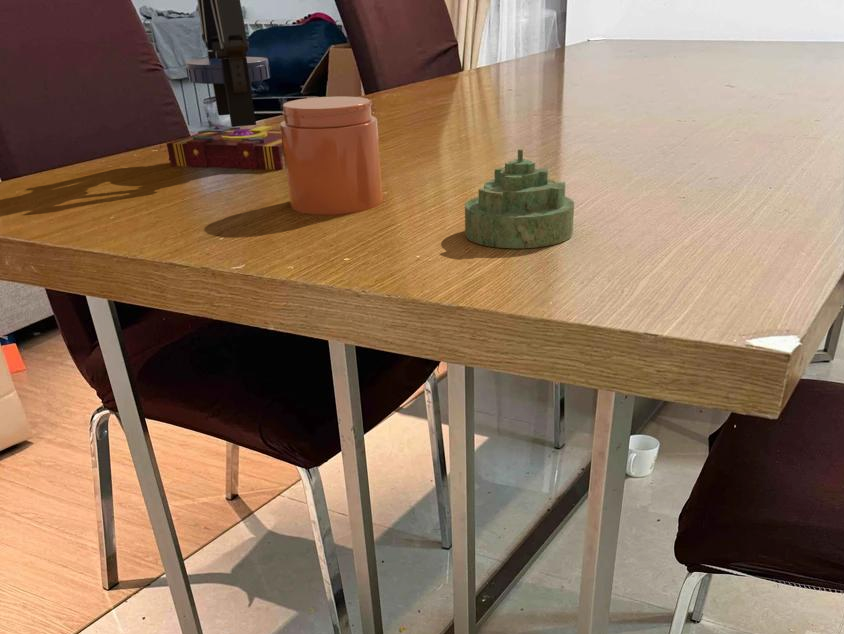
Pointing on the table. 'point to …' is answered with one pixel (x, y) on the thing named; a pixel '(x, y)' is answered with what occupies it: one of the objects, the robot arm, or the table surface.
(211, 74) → the lid
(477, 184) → the table surface
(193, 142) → the decorative book
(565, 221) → the decorative artifact
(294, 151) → the jar
